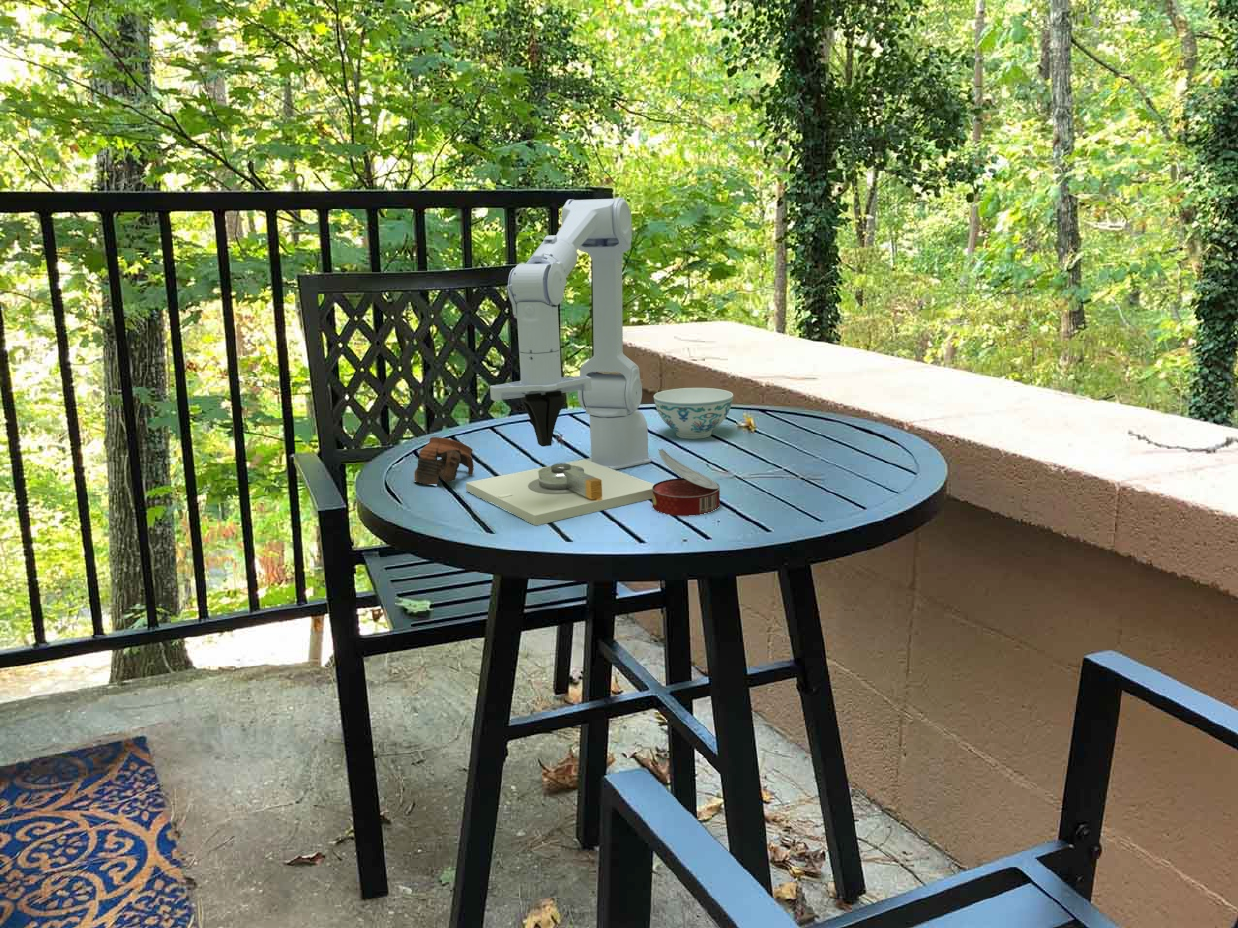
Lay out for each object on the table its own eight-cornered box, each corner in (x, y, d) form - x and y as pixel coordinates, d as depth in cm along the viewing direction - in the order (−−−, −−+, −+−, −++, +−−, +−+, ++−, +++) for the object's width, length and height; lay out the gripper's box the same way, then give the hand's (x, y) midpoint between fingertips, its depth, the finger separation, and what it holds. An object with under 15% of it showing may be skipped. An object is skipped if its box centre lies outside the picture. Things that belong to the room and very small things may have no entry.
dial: (531, 482, 153) (530, 464, 152) (570, 474, 156) (569, 457, 155) (575, 503, 141) (575, 484, 140) (617, 494, 145) (616, 476, 144)
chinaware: (737, 442, 180) (736, 401, 178) (655, 445, 181) (654, 403, 179) (729, 425, 195) (729, 386, 193) (654, 427, 195) (653, 388, 193)
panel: (584, 467, 167) (584, 458, 166) (662, 496, 149) (661, 485, 149) (466, 491, 155) (465, 481, 154) (535, 525, 137) (534, 514, 137)
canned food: (673, 526, 150) (685, 463, 152) (728, 531, 144) (740, 465, 145) (628, 509, 142) (641, 442, 144) (684, 513, 135) (697, 443, 137)
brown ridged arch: (403, 482, 164) (417, 435, 165) (455, 499, 168) (468, 453, 169) (424, 479, 153) (439, 429, 155) (479, 497, 157) (494, 449, 159)
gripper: (498, 358, 132) (504, 457, 135) (598, 349, 137) (601, 444, 141) (483, 352, 138) (489, 446, 141) (579, 343, 143) (583, 434, 147)
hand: (544, 444), depth 141 cm, fingers closed
